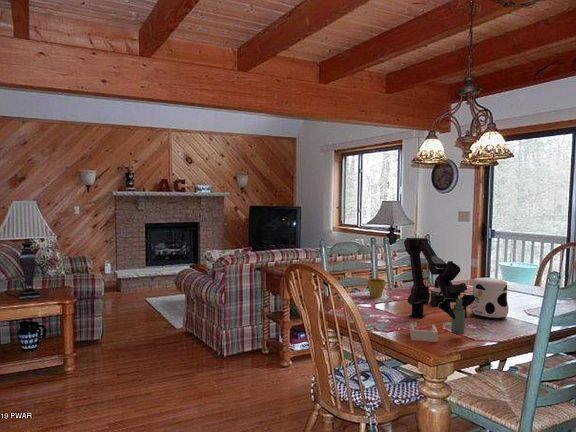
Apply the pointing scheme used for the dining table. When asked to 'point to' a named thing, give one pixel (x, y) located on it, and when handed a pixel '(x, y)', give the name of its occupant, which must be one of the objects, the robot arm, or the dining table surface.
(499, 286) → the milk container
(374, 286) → the plant pot
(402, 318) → the dining table surface
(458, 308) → the glass bottle
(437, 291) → the medicine bottle
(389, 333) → the dining table surface
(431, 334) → the u rest
